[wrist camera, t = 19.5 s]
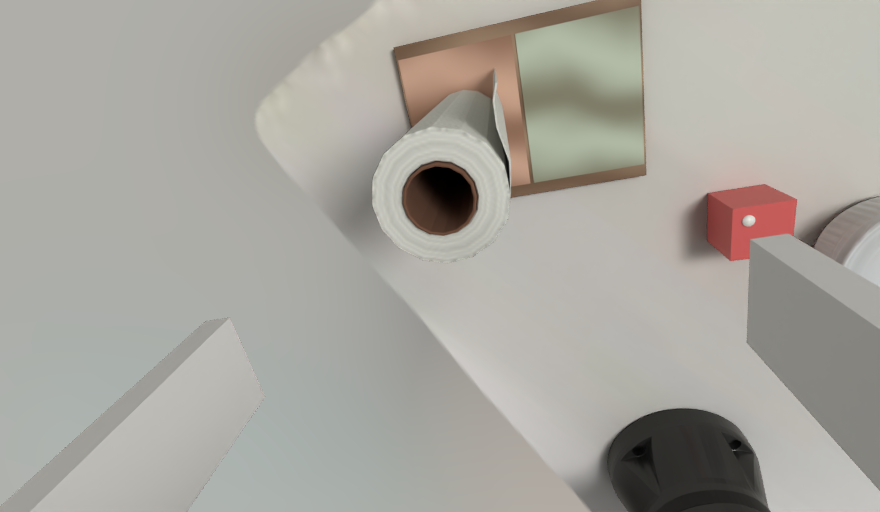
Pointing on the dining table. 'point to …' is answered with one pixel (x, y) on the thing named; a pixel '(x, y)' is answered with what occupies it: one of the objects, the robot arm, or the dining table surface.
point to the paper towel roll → (447, 180)
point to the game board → (547, 90)
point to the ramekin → (855, 239)
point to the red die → (747, 218)
